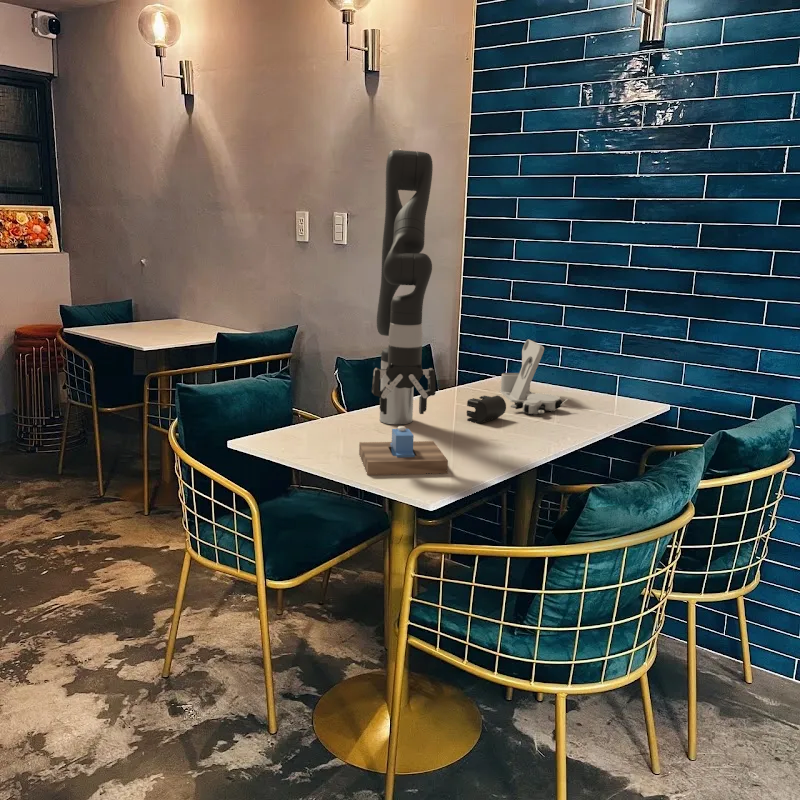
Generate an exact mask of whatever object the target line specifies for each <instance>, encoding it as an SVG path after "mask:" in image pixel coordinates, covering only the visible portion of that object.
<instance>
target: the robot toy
mask: <svg viewBox="0 0 800 800" xmlns="http://www.w3.org/2000/svg"><path fill="white" fill-rule="evenodd" d="M567 401H568V398H566V399H565V400H564V401H563V400H562V398H561V397H560V396H557V395H555V394H549V393H542V392H535V393H534V392H532V393H531V395H529V396H527V397H526V401H525V402H514V404H513V403H512V404H510V408H512V409H515V410H520V409H521V410H522V413H525V414H527V413H528V415H532V414H533V416H535V415H538V414H540V415H544V414H545V412H546V411H547V412H549V411H551V412H552V411H553V412H555V411H556V410H557V409H559V408H562V406H564V404H565V403H566V402H567ZM551 412H550V413H551Z"/></svg>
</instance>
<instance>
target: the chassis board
mask: <svg viewBox="0 0 800 800" xmlns="http://www.w3.org/2000/svg"><path fill="white" fill-rule="evenodd" d="M390 443H392V441H364V442H363V441H360V442H359V446H358V447H359V448H358V449H359V450H358V451H359V453H358V455H359V458H360V457H361V458H360V461H361V462H363V463H362V464H363V468H364V467H365V468H364V470H365V473H366V472H367V473H366V475H367V476H383V475H384V476H385V475H386V476H387V475H389V476H390V475H391V474H395V475H430V474H431V473H432V474H433V475H434V474H435V475H436V474H437V475H438V474H439V473H441V474H448V466H449V460H448V458H447V457H446V456H445V454H444V453H443V452H442V450H441V449H440V447H439V446H438V445H437V444H436V443H435V441H434V440H428V441H427V440H426V441H419V440H418V441H417V440H416V441H414V440H413V453H414V454H415V457H396V456H393V455H392V453H391V446H390ZM426 473H427V474H426ZM428 473H430V474H428ZM432 474H431V475H432Z"/></svg>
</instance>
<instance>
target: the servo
mask: <svg viewBox="0 0 800 800" xmlns="http://www.w3.org/2000/svg"><path fill="white" fill-rule="evenodd" d="M391 442H392V443H390V446H391V453H392V455H393V456H396V457H415V454H414V453H413V442H414V434H413V432H412V430H410V428H406V426H403V425H399V426H397V428H392V429H391Z"/></svg>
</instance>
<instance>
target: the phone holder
mask: <svg viewBox="0 0 800 800" xmlns="http://www.w3.org/2000/svg"><path fill="white" fill-rule="evenodd" d="M544 351H545V347H544V346H543V345H541V344H540V343H537V342H536V341H534V340H531V339H527V340H525V342H524V344H523V346H522V350H521V368H520V370H519V372H503V373H501V381H500V389H499V393H501V395H503V396H504V397H505V398H506V399H507V400H508V401H510V402H511V403H517V402H522V403H524V402H525V401H526V397H527V396H529V395H531V393H533V392H532V391H531V383H532V381H533V378H534V376H535V374H536V371H537V368H538V367H539V364H540V362H541V359H542V357H543V354H544Z"/></svg>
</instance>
